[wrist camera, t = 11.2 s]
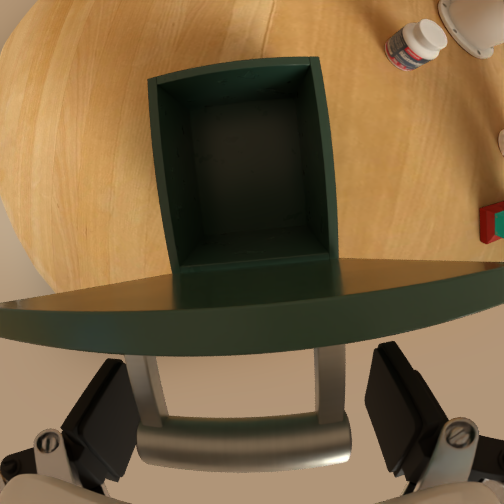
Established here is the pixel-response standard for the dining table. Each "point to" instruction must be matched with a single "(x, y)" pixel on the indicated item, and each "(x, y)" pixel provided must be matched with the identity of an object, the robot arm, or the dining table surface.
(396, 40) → the pill bottle
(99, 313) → the lid
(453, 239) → the dining table surface
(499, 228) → the toy robot
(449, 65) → the dining table surface
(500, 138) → the drinking glass
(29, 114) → the dining table surface
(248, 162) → the box
